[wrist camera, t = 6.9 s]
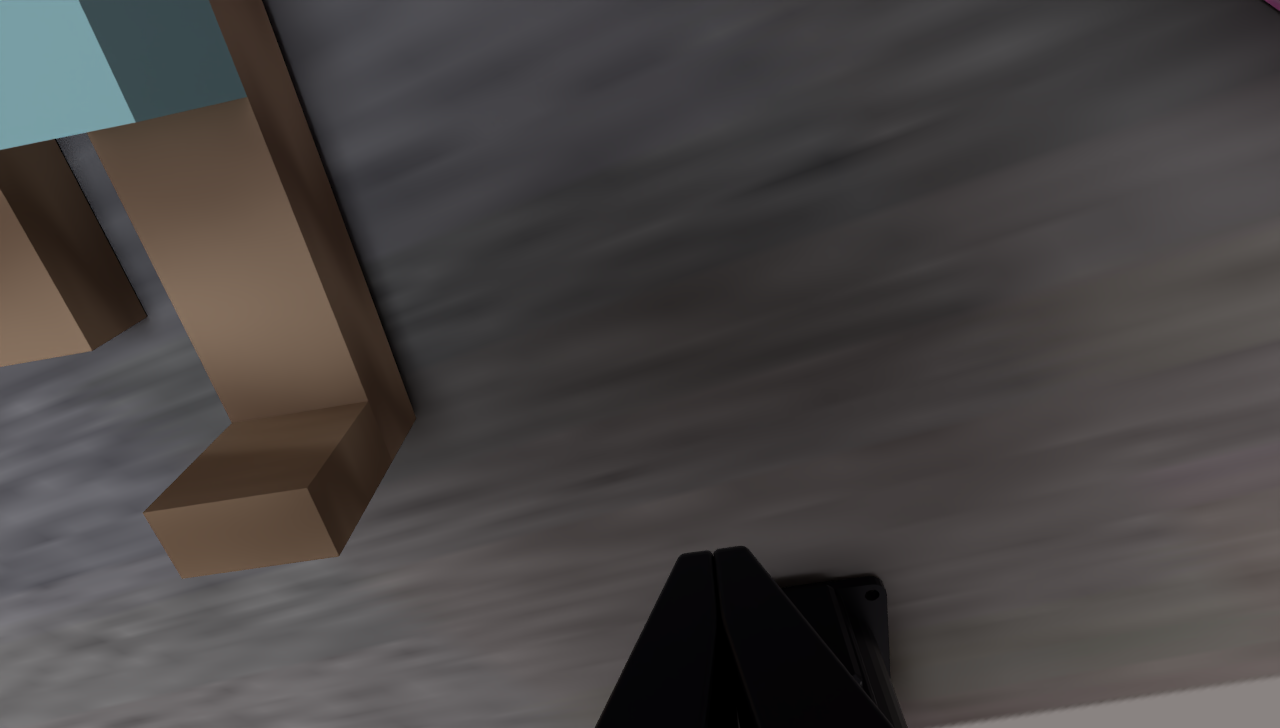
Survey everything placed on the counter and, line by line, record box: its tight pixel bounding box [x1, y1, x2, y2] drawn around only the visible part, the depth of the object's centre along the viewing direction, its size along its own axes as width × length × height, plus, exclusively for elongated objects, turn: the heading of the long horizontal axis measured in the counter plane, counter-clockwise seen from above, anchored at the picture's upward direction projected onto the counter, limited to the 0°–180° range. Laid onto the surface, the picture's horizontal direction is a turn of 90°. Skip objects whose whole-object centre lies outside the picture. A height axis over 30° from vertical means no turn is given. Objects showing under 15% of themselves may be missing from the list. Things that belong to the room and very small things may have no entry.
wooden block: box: [87, 0, 416, 579], centre depth 17 cm, size 16×4×6 cm, turn 10°
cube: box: [0, 0, 247, 150], centre depth 14 cm, size 4×4×4 cm
